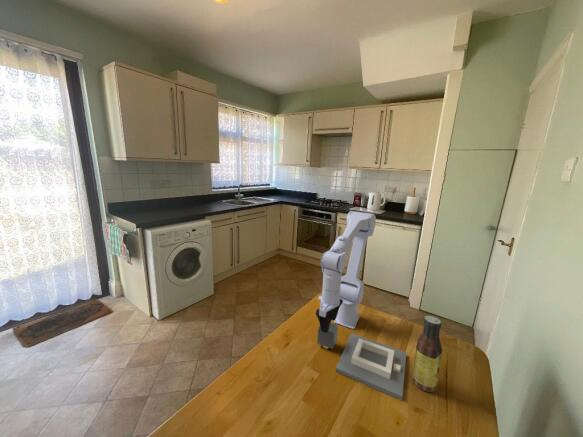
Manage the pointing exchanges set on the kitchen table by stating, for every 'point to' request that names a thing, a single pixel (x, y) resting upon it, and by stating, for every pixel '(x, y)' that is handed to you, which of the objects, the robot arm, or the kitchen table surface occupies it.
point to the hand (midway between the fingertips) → (328, 325)
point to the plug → (328, 336)
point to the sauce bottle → (428, 355)
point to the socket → (374, 365)
